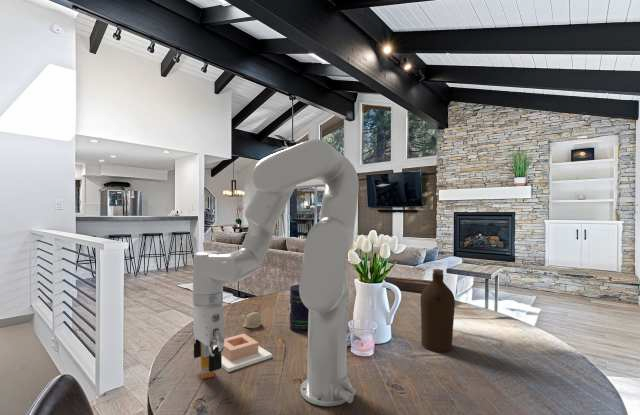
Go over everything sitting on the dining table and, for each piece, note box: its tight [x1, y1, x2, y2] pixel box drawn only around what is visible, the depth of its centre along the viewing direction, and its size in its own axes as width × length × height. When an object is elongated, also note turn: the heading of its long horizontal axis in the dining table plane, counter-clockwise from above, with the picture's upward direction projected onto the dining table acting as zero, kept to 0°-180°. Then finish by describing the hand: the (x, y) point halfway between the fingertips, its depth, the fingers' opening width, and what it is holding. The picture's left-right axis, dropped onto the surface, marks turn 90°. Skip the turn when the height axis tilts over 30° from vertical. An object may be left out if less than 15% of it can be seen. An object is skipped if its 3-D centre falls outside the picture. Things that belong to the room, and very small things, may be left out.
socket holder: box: [213, 333, 273, 373], centre depth 102 cm, size 16×14×4 cm
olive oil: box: [420, 268, 456, 353], centre depth 111 cm, size 11×11×25 cm
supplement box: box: [200, 341, 215, 380], centre depth 90 cm, size 3×3×10 cm
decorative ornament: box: [241, 311, 262, 329], centre depth 126 cm, size 4×8×5 cm, turn 128°
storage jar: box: [289, 284, 309, 334], centre depth 125 cm, size 10×10×15 cm
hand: (207, 362), depth 90 cm, fingers open, 9 cm apart
